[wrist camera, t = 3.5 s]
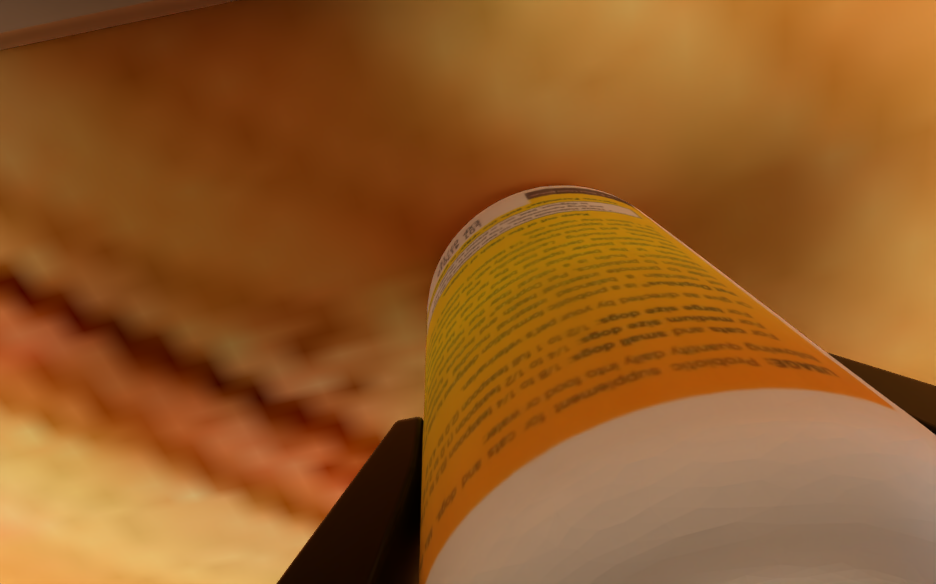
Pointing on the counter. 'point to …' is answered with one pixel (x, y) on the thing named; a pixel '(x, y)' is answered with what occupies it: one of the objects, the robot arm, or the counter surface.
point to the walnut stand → (79, 16)
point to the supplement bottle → (647, 419)
